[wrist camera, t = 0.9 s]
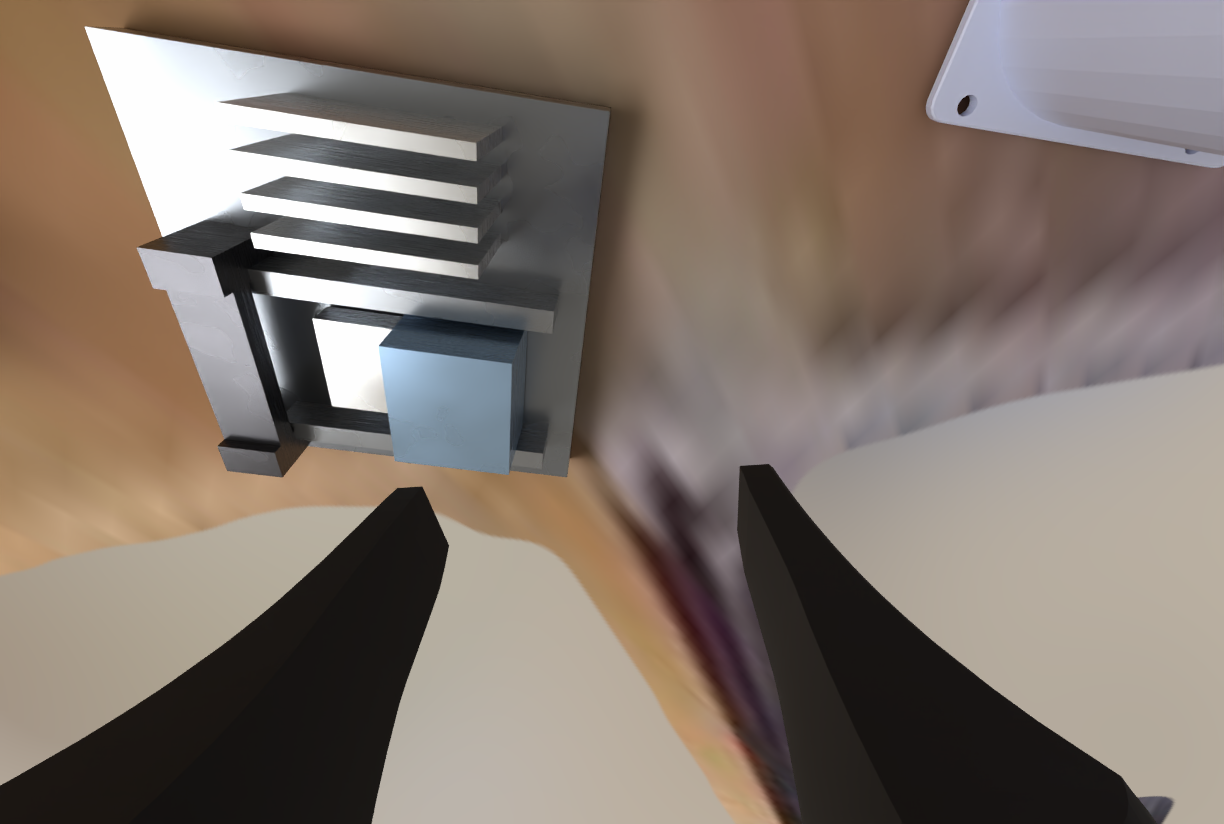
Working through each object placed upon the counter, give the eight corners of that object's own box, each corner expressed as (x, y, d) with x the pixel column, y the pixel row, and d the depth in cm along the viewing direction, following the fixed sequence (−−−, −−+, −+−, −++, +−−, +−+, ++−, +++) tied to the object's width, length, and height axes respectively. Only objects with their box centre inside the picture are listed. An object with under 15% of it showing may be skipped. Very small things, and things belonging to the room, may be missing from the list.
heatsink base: (610, 107, 15) (605, 125, 12) (569, 459, 23) (559, 530, 20) (121, 27, 14) (-36, 22, 11) (253, 420, 23) (187, 487, 19)
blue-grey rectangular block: (527, 320, 18) (511, 363, 16) (523, 424, 21) (508, 474, 18) (324, 293, 18) (274, 332, 15) (346, 401, 20) (307, 450, 18)
